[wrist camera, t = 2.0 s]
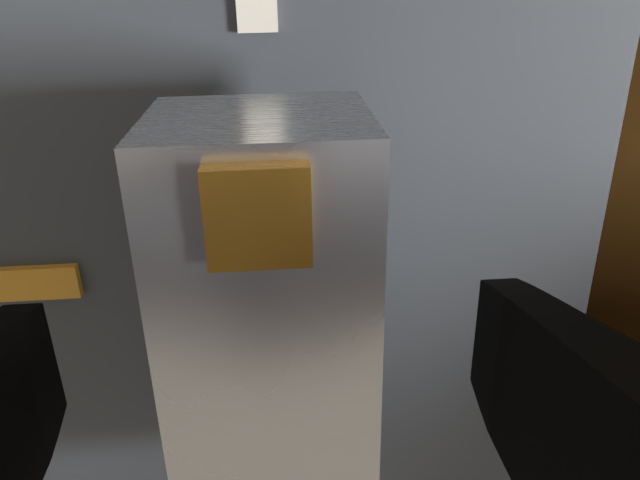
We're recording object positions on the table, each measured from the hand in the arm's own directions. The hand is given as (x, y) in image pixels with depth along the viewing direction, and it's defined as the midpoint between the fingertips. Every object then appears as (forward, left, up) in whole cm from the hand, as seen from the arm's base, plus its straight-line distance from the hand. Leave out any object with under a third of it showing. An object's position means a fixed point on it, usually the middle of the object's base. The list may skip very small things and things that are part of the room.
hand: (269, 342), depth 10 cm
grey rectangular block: (0, 0, -3) cm, 3 cm away
